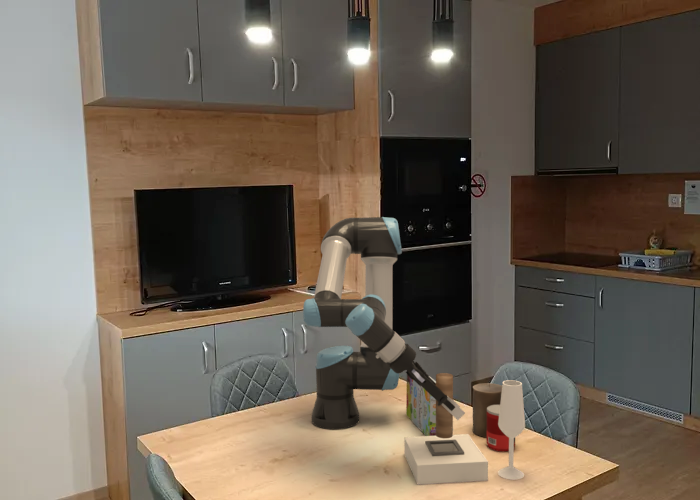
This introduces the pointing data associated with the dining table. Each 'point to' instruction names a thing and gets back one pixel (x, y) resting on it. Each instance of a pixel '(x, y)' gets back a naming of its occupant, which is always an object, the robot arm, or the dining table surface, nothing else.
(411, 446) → the socket block
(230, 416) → the dining table surface
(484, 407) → the pillar candle
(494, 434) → the canned food
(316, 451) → the dining table surface
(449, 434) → the peg
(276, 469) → the dining table surface
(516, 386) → the champagne flute
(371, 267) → the robot arm
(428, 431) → the snack box
